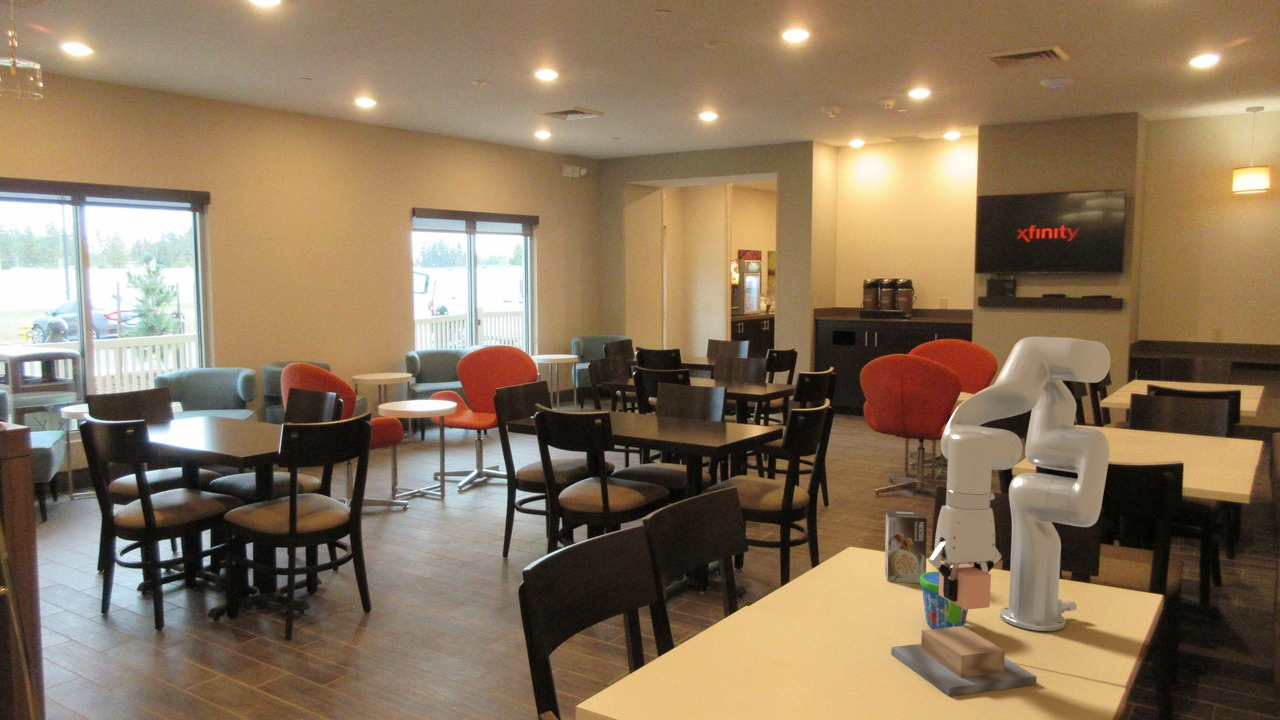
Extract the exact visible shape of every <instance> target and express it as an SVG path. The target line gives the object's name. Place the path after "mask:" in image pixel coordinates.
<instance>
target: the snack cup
mask: <svg viewBox="0 0 1280 720" xmlns="http://www.w3.org/2000/svg"><path fill="white" fill-rule="evenodd" d="M939 574H940V572H939V571H929V572H928V571H926V573H924V574H922V575H921V577H920V583H919V584H920V586H921V589H922V597H923V599H922V600H923V606H924V614H925V615H924V616H925V620H926V624H927V625H928V626H929V627H930V628H931V629H938V628H948V627H957V626H964V627H966V622H967V616H968V613H969V612H968V611H969V609H967V610H965V609H964V608H962V607H960V606H958V605H956V604H954V603H953V602H951V601H949V600H947V599H945V598H943V597H942V596H940V595H939Z"/></svg>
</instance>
